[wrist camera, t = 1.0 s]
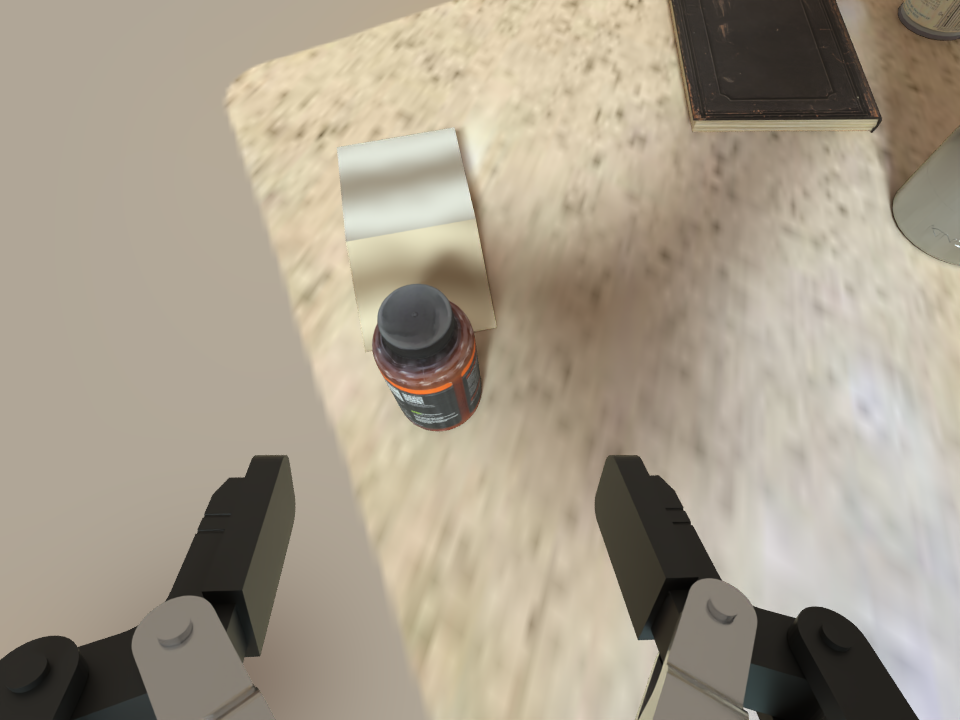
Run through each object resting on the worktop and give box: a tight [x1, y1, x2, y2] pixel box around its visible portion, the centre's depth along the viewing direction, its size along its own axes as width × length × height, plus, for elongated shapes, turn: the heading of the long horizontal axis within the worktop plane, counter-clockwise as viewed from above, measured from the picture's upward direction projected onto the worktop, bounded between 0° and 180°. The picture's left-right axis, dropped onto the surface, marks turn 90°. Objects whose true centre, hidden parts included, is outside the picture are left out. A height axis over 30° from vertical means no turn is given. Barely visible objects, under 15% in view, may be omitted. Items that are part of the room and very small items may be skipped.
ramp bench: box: [337, 128, 497, 352], centre depth 42 cm, size 18×10×4 cm, turn 11°
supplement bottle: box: [372, 284, 481, 431], centre depth 33 cm, size 6×6×11 cm
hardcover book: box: [669, 0, 882, 133], centre depth 51 cm, size 16×23×2 cm
